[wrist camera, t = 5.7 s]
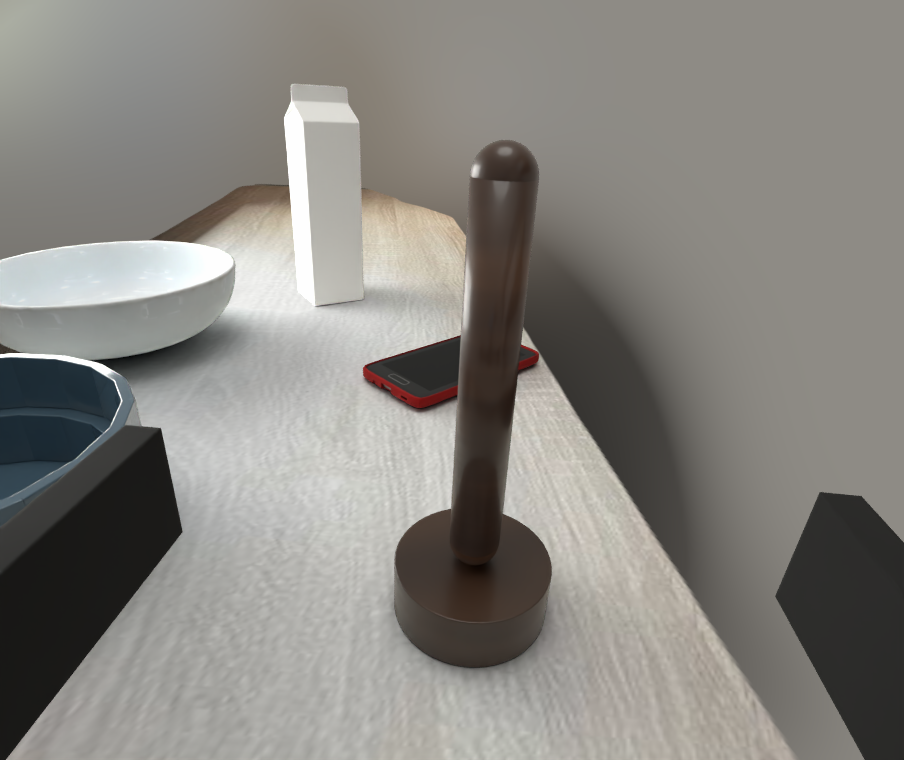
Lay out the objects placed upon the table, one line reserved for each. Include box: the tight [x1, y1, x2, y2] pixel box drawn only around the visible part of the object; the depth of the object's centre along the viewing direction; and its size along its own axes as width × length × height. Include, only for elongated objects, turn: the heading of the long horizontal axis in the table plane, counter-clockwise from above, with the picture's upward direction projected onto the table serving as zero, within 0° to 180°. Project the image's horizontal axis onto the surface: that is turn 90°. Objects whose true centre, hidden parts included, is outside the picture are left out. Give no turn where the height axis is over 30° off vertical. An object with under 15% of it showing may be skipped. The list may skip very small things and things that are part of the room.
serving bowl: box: [0, 241, 235, 360], centre depth 50 cm, size 21×21×7 cm
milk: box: [284, 84, 364, 306], centre depth 61 cm, size 6×6×22 cm
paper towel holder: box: [394, 140, 552, 667], centre depth 22 cm, size 7×7×20 cm
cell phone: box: [363, 335, 539, 408], centre depth 48 cm, size 8×15×1 cm, turn 133°
